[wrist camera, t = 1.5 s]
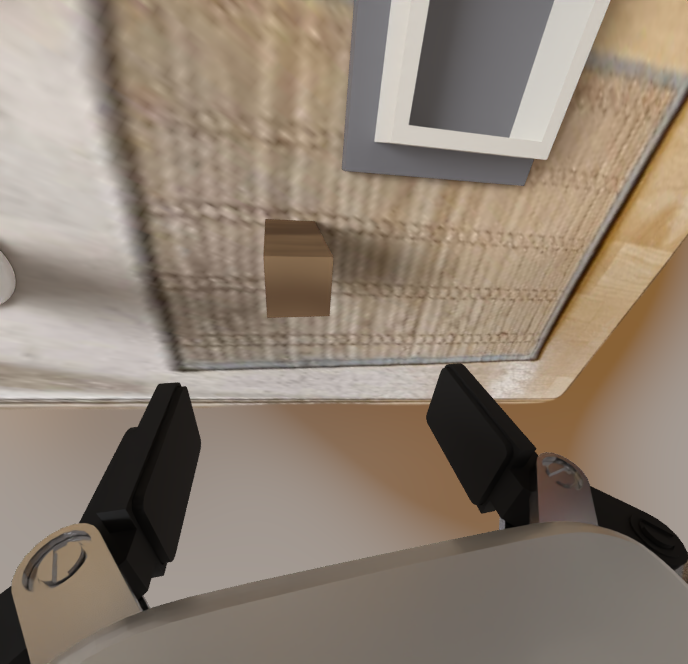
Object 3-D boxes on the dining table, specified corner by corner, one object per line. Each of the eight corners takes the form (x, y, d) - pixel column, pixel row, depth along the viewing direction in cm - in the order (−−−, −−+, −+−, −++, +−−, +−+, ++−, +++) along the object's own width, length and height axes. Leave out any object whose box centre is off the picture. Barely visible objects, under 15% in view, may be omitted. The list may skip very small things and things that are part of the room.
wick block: (265, 219, 24) (263, 256, 16) (314, 221, 25) (333, 257, 17) (268, 266, 26) (267, 317, 19) (313, 266, 27) (329, 315, 19)
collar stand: (369, -205, 14) (405, -330, 10) (620, -108, 18) (716, -176, 14) (341, 169, 23) (356, 175, 19) (514, 184, 26) (555, 191, 23)
